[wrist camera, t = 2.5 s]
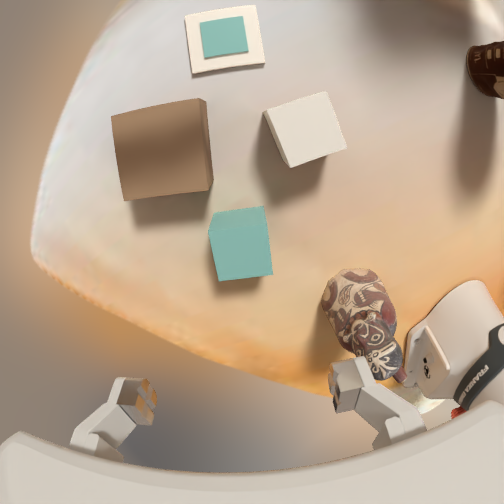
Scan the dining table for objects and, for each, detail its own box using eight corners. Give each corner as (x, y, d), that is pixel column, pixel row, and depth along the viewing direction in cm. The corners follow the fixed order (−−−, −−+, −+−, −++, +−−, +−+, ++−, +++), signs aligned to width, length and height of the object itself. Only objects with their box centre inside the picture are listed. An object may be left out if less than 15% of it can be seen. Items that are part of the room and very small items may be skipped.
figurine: (360, 254, 27) (414, 331, 16) (389, 291, 29) (437, 364, 19) (308, 296, 29) (336, 385, 19) (343, 327, 32) (373, 407, 21)
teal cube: (268, 250, 27) (272, 274, 23) (222, 256, 27) (219, 281, 23) (263, 205, 25) (266, 223, 21) (214, 212, 25) (208, 231, 21)
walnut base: (213, 179, 24) (208, 190, 20) (140, 188, 24) (124, 201, 20) (206, 101, 20) (198, 98, 17) (130, 115, 21) (111, 116, 17)
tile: (264, 63, 19) (265, 61, 18) (193, 74, 19) (192, 73, 18) (255, 6, 16) (255, 3, 16) (185, 17, 16) (184, 15, 16)
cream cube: (329, 142, 22) (347, 148, 18) (282, 159, 23) (290, 168, 19) (311, 95, 20) (326, 90, 16) (262, 112, 21) (266, 109, 17)
